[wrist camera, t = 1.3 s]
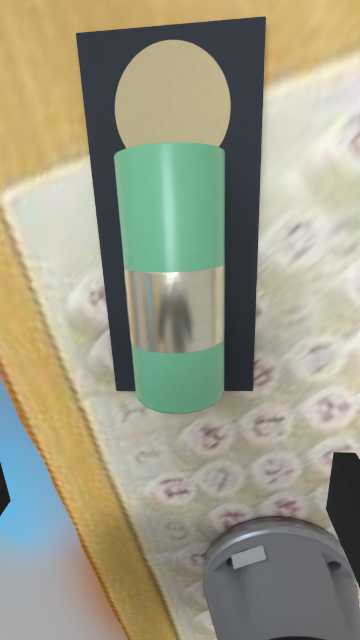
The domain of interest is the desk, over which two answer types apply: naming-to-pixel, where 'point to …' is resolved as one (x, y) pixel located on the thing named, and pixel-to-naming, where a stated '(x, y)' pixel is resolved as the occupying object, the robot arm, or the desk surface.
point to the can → (174, 271)
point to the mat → (180, 126)
